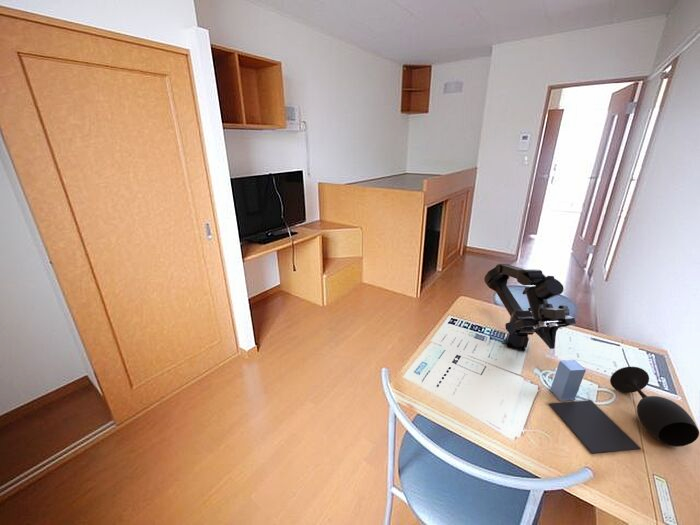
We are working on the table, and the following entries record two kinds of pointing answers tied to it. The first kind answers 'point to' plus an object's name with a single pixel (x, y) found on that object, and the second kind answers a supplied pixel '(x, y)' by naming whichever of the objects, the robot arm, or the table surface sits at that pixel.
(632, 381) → the wine glass
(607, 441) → the rubber mat
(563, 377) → the blue block
